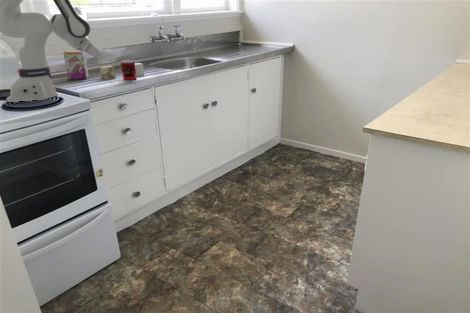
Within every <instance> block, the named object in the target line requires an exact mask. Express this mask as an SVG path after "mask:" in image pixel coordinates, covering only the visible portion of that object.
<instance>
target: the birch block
mask: <svg viewBox="0 0 470 313" xmlns="http://www.w3.org/2000/svg"><path fill="white" fill-rule="evenodd" d="M99 70H100V76H101V79H102V80H111V79H116V73H115V66H113V65H104V66H99Z"/></svg>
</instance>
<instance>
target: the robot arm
mask: <svg viewBox="0 0 470 313" xmlns="http://www.w3.org/2000/svg"><path fill="white" fill-rule="evenodd" d="M23 1H24V0H0V33H1V34H2V35H4V36H7V37H10V38H14V39H17V38H18V39H19V38H22V39H23V40H24V41H23V42H24V44H23V46H22V47H21V48H19V51H18V57H19V61H20V63H21V67H22V68H18V70H17V73H18V75H19V77H18V79H16V80H15V82H13V84H11V86H10V89H9V90H10V95H9V96H8V97H6V102H7V103H9V102H14V103H20V102H19V101H25V102H33V101H32V100H37V101H44V100H47V99H49V98H54V97H56V96H58V95H59V93H58V92H57V89H56V87H55V85H54V82H53V80H52V73H51V69H50V66H49V65H48V60H47V56H46V43H47V41H48V40H47V39H48V38H49V37H50V35H51V34H52V33H54V34H55V35H56V36H57V37H58V38H60V39H61V40H63V41H65V42H66V43H67V44H68V46H70V47H72V48H73V49H74V50H75V51H84V52H85V53H86V54H88V55H90V56H92V57H94V58H96V59H98V60H100V61H102V60H103V59H104V57H103V56H102V55H103V53H102V51H101V50H99V48H97V46H96V45H94V43H92V41H91V39H89V38H88V36H89V34H90V31H91V26H90V23H89V18H88V13H87V12H86V11H85V10H84V9H83V8H82V7H81V8H80V7H79V6H78V7H77V6H74V5H73V3H72V2H71V0H52V1H53V2H54V4H55V6H56V7H57V9H58V11H59V12H60V13H56V14H54V15H53V16H52V17H51V18H50V17H49V16H48V15H46V14H43V13H41V12H40V13H39V12H33V11H32V12H23V10H22V7H21V4H22V3H23Z"/></svg>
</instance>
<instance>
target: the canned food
mask: <svg viewBox="0 0 470 313" xmlns="http://www.w3.org/2000/svg"><path fill="white" fill-rule="evenodd" d="M135 63H136V62H135V60H134V59H133V60H132V59H127V60H126V59H125V60H121V61H120V65H121V71H122V79H123V81H124V80H134V81H137V76H136V70H135Z"/></svg>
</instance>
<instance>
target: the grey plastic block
mask: <svg viewBox="0 0 470 313" xmlns="http://www.w3.org/2000/svg"><path fill="white" fill-rule="evenodd" d="M134 63H135V70H136V77H139V76H144V75H145V70H144V63H141V62H134Z"/></svg>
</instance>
